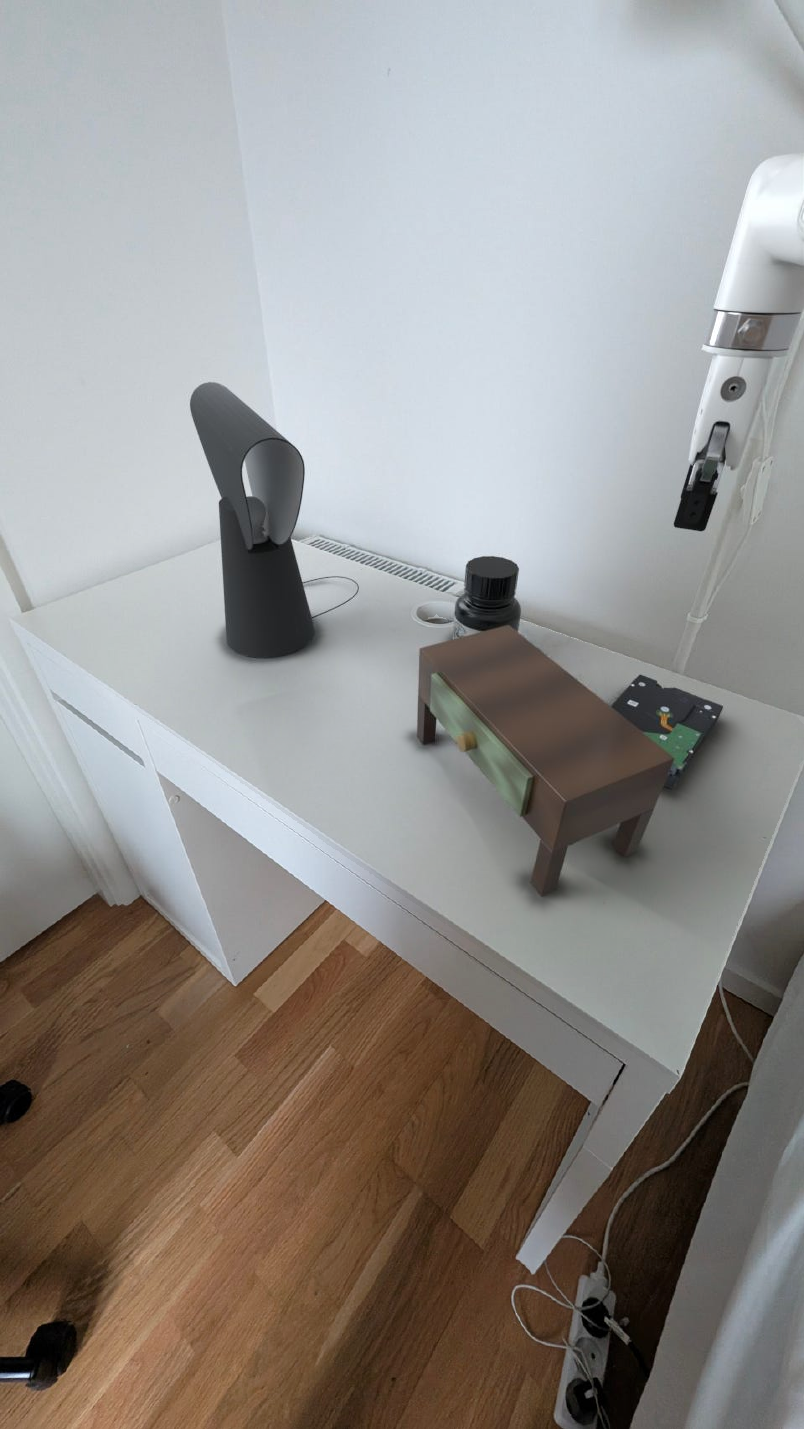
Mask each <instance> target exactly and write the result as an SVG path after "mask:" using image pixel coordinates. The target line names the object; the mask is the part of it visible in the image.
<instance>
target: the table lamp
mask: <svg viewBox="0 0 804 1429" xmlns="http://www.w3.org/2000/svg"><path fill="white" fill-rule="evenodd" d="M189 408H190V415H191V418H192V420H193V424H194V426H195V429H196V433H197V435H198V439H199V441H200V444H201V447H202V450H203V453H204V456H205V458H206V461H207V463H208V468H209V470H210V472H211V475H212V478H213V480H214V483H215V485H216V488H217V491H218V493H219V496H220V497H221V498H220V499H219V501H218V514H219V516H218V517H219V531H220V532H219V533H220V549H221V550H220V552H221V570H222V586H223V587H222V588H223V603H224V620H225V621H224V622H225V623H224V624H225V638H226V644H227V646H228V647H229V648H230V649H231V650H232V651H234V652H235V653H237V654H239V655H242V656H244V657H245V656H246V657H250V658H255V659H257V658H258V659H267V658H268V659H269V658H279V657H283V656H286V655H290V654H294V653H295V652H296V653H297V652H298V651H299V650H302V649H303V648H305V647H306V646H308V645H309V644H310V643H311V642H312V641H313V639H314V637H315V635H316V634H315V633H316V629H315V628H316V627H315V624H314V622H313V619H314V618H317V617H319V616H321V615H324V614H326V613H328V612H330V611H333V610H335V609H337V608H340V607H341V606H343V605H345V604H346V603H348V602H349V601H351V600H352V599H353V598H354V597H356V596H357V594H358V593H359V589H360V586H359V584H358V583H357V582H356V581H355V580H354V579H353V578H349V577H347V576H338V575H337V576H336V575H334V576H333V575H332V576H323V577H318V578H315V579H309V580H307V581H303V579H302V575H301V571H300V568H299V564H298V559H297V556H296V552H295V549H294V545H293V541H292V535H293V533H294V531H295V528H296V525H297V522H298V519H299V516H300V512H301V511H300V510H301V506H302V502H303V501H302V500H303V493H304V486H305V477H306V476H305V475H306V470H305V469H306V468H305V467H306V466H305V460H304V459H303V456H302V454H301V452H300V451H299V449H298V448H297V447H296V446H295V445H294V444H293V443H291V442H290V441H289V440H288V439H287V438H286V437H285V436H284V435H282V434H281V433H280V432H279V431H277V429H275V428H274V427H273V426H272V425H270V423H268V422H267V421H266V420H265V419H264V418H263V417H262V416H260V414H258V413H257V412H256V411H255V410H253V408H251V407H250V406H249V405H247V404H246V403H245V402H244V401H243V400H242V399H241V398H240V397H238V396H237V395H236V394H235V393H234V392H232V391H231V390H230V389H229V387H227V386H225V385H223V384H221V383H218V382H215V381H208V382H204V383H202V384H199V385H198V386H197V387H196V388H194V390H193V392H192V394H191V396H190V400H189ZM244 464H245V468H246V474H247V478H248V484H249V487H250V491H251V496H250V495H248V496H247V492H246V489H245V484H244V478H243V466H244ZM330 578H340V579H341V578H342V579H346V580H350V581H352V582H353V583H355V585H356V587H357V590H356V592H355V593H354V595H353V596H352V597H350V598H349V599H347V600H345V601H344V602H342V603H341V604H339V605H337V606H334V607H332V608H330V609H328V610H325V611H324V612H320V613H319V614H316V615H313V616H312V614H311V610H310V606H309V602H308V598H307V594H306V590H305V587H304V584H306V583H310V582H313V581H317V580H318V581H319V580H322V579H330Z"/></svg>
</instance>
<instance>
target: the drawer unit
mask: <svg viewBox="0 0 804 1429" xmlns="http://www.w3.org/2000/svg"><path fill="white" fill-rule="evenodd" d="M418 652H419V653H418V654H419V655H418V683H417V684H418V686H417V688H418V689H417V692H418V693H417V719H416V720H417V721H416V737H417V738H418V740H419V741H420V742H421V744H422V745H426V744H429V743H432V742H435V741H436V735H437V734H436V733H437V721H438V722H439V724H440V725H441V726H442V727H443V728H444V729H445V731H446V732H447V733H448V734H449V735H450V737H451V738H452V739H453V740H454V741H455V742H456V745H457V747H458V749H459V750H460V752H462V753H465V754H466V755H467V756H468V758H469V759H470V760H471V762H473V764H474V765H475V766H476V767H477V769H479V771H480V772H481V773H482V774H483V776H485V777H486V779H487V780H488V781H489V782H490V784H491V785H492V786H493V787H494V789H495V790H496V791H497V792H498V793H499V794H500V796H502V798H503V799H504V800H505V802H506V803H507V804H508V805H509V806H510V807H511V809H513V811H514V812H515V813H516V814H517V815H518V816H519V818H521V817H522V818H523V820H524V821H525V822H526V824H528V825H529V827H530V828H531V829H532V831H533V832H534V833H535V834H536V835H537V836H538V838H540V840H539V841H540V842H539V845H538V849H537V854H536V857H535V861H534V865H533V869H532V874H531V879H530V881H529V882H530V884H531V886H532V887H533V888H534V889H535V891H536V892H537V893H538V894H539V896H540V897H543V896H545V895H547V894H549V893H552V892H553V891H556V889H557V886H558V882H559V880H560V876H561V872H562V869H563V865H564V863H565V859H566V855H567V853H568V852H567V851H568V848H569V846H571V845H574V844H577V843H578V842H581V841H583V840H585V839H587V838H589V837H592V836H595V835H597V834H598V833H602V832H603V831H605V830H607V829H610V828H612V827H615V826H617V825H618V829H617V831H616V834H615V837H614V839H613V842H612V847H613V848H614V849H615V850H616V851H617V853H619V854H620V856H621V857H623V858H626V857H629V856H630V855H633V854H635V853H636V852H638V849H639V847H640V844H641V842H642V840H643V838H644V837H643V836H644V834H645V832H646V829H647V827H648V826H649V823H650V820H651V818H652V815H653V812H654V809H655V807H656V805H657V803H658V800H659V798H660V795H661V794H662V791H663V787H665V786H664V783H665V781H666V778H667V776H668V773H669V771H670V769H671V766H672V764H673V761H674V759H675V758H674V757H673V756H672V755H670V754H669V753H668V752H667V751H665V750H664V749H663V748H662V747H660V746H659V745H658V744H657V743H655V742H654V741H653V740H652V739H650V738H649V737H648V736H647V735H645V734H644V733H643V732H642V731H640V730H639V729H638V728H637V727H635V726H634V725H633V724H632V723H630V722H629V721H628V720H627V719H625V718H624V717H623V716H622V715H620V714H619V713H618V712H617V711H615V710H614V709H613V708H612V707H611V706H610V705H609V704H608V703H607V702H605V700H603V699H602V698H600V697H599V696H598V695H597V694H596V693H594V692H593V690H590V689H589V688H588V687H587V686H586V685H585V684H583V683H582V682H580V680H578V679H577V678H575V677H574V676H573V675H572V674H570V673H569V672H568V671H567V670H565V669H564V668H563V667H562V666H561V665H560V664H558V663H557V662H555V660H553V659H552V658H551V657H549V656H548V655H547V654H545V653H544V652H543V651H542V650H540V649H539V648H538V647H537V646H536V645H535V644H533V643H532V642H531V641H529V640H528V639H527V638H526V637H525V636H524V635H522V634H521V633H520V632H519V631H518V632H517V631H516V630H514V629H513V628H512V627H511V626H509V625H506V626H502V627H499V628H495V629H491V630H487V631H483V632H479V633H476V634H472V635H468V636H464V637H460V638H457V639H453V638H452V639H450V640H445V641H441V642H438V643H434V644H430V645H427V646H423V647H419V651H418Z"/></svg>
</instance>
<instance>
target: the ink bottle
mask: <svg viewBox="0 0 804 1429" xmlns="http://www.w3.org/2000/svg"><path fill="white" fill-rule="evenodd" d="M519 572H520V568H519V566H518V564H517V563H516V562H514V561H513V560H512V559H508V558H505V557H501V556H495V555H482V556H479V557H473V558H472V559H470V560H468V561H467V563H466V565H465V573H464V584H463V585H464V592H463V593H462V594H460V596H459V597H458V598H457V600H456V601H455V606H454V612H453V613H454V614H453V616H454V617H453V630H452V640H453V639H457V638H460V637H464V636H468V635H472V634H476V633H479V632H483V631H487V630H491V629H495V628H499V627H502V626H506V625H509V626H511V627H512V628H513V629H514V630H516V631H517V632H518V633H519V629H520V622H521V616H522V606H521V604H520V602H519V600H518V599H517V598H516V597H515V596H516V593H517V592H516V590H517V587H518V579H519Z"/></svg>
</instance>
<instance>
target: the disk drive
mask: <svg viewBox="0 0 804 1429" xmlns="http://www.w3.org/2000/svg"><path fill="white" fill-rule="evenodd" d="M610 707H612V708H613V709H614V710H615V711H617V712H618V713H619V714H620V715H622V716H623V717H624V718H625V719H627V720H628V721H629V722H630V723H632V724H633V725H634V726H635V727H637V728H638V729H639V730H640V731H642V732H643V733H644V734H645V735H647V736H648V737H649V738H650V739H652V740H653V741H654V742H655V743H657V744H658V745H659V746H660V747H662V748H663V749H664V750H665V751H667V752H668V753H669V754H670V755H672V756H673V757H674V758H675V759H674V761H673V764H672V766H671V769H670V771H669V773H668V776H667V778H666V781H665V783H664V786H663V787H667V788H670V789H675V787H676V786H677V784H678V783H679V781H680V780H681V779H682V777H683V776H684V775H685V773H686V771H687V769H688V767H689V766H690V764H691V763H692V761H693V759H694V758H695V756H696V755H697V753H698V751H699V750H700V748H701V747H702V746H703V744H704V742H705V740H706V739H707V737H708V736H709V734H710V733H711V732H712V731H713V729H714V728H715V726H716V723H717V722H718V719H719V718H720V715H721V713H722V711H723V710H724V705H722V704H721V703H720V704H719V703H716V702H714V701H711V700H708V699H706V698H703V697H700V696H698V695H696V694H692V693H690V692H688V691H685V690H683V689H681V688H679V687H678V688H677V687H674V686H673V687H663V686H662V685H660V683H658V680H656V679H653V678H651V677H648V676H646V675H643V674H639V675H638V676H637V677H635V678H634V679H633V680H632V681H631V682H630V684H629V685H628V686H627V687H626V689H625V690H624V691H623V692H622V693H621V694H620V695H619V696H618V697H617V699H616V700H615V701H614V702H613V703H612V704H611V706H610Z"/></svg>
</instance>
